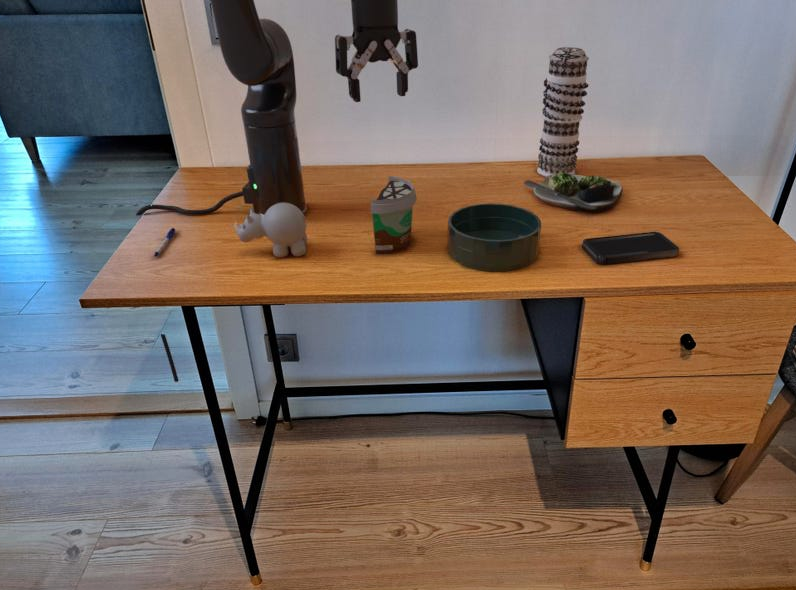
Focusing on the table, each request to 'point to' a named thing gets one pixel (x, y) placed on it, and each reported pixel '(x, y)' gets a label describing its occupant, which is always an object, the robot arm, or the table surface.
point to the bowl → (493, 237)
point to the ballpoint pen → (165, 241)
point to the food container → (393, 216)
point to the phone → (629, 247)
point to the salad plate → (577, 192)
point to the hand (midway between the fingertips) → (379, 98)
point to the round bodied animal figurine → (277, 229)
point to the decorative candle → (562, 111)
